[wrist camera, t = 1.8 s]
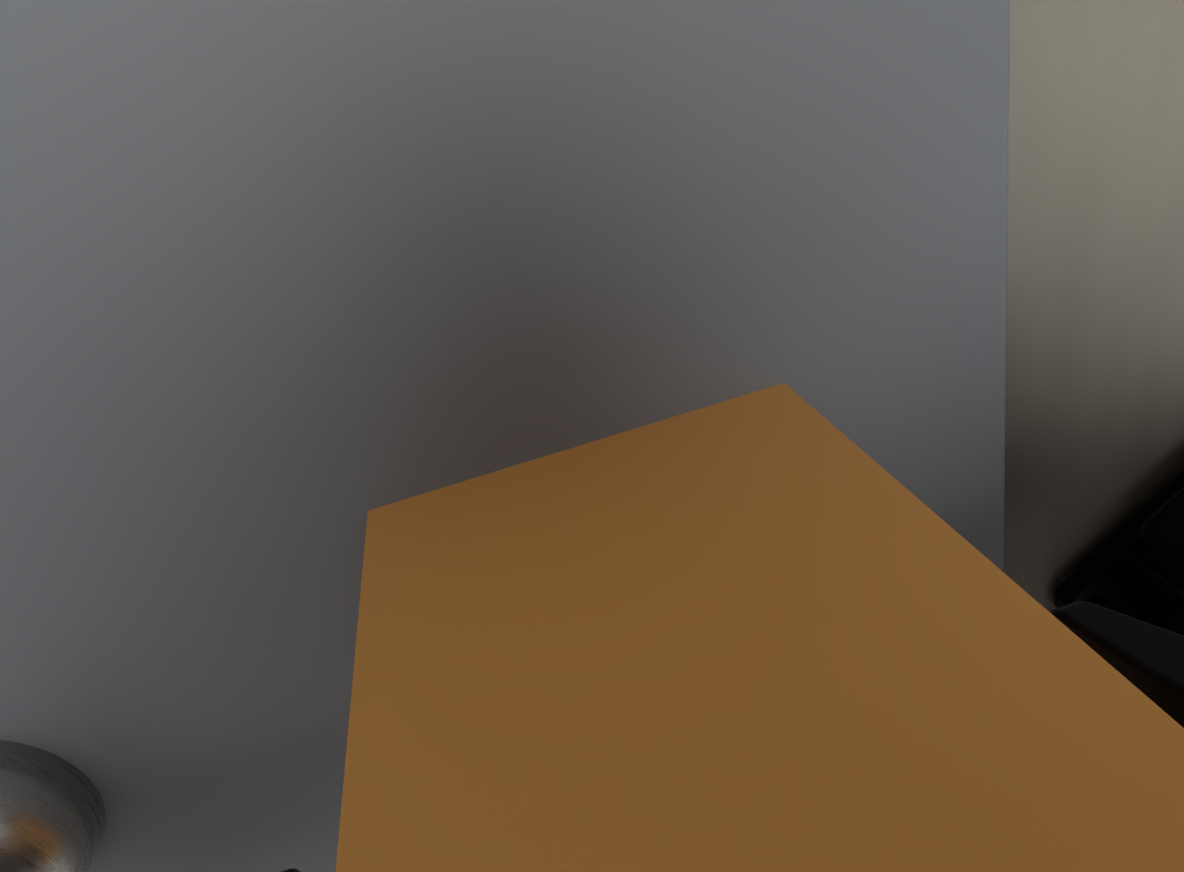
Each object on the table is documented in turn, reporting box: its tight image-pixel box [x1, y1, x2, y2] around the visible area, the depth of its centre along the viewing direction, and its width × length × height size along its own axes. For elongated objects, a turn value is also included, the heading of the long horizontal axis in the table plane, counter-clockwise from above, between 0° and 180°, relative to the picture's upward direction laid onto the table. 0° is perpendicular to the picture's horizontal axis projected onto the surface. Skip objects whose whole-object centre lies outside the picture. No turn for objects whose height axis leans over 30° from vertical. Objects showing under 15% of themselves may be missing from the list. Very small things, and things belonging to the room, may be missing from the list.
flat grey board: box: [0, 0, 1009, 872], centre depth 13 cm, size 24×18×2 cm
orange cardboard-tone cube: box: [336, 383, 1184, 872], centre depth 9 cm, size 6×6×7 cm
